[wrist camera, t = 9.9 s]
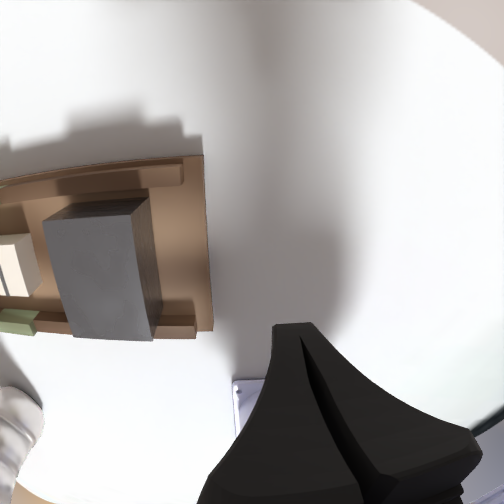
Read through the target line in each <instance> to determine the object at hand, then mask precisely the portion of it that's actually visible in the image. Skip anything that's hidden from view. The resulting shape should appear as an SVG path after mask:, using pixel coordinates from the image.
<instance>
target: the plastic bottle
mask: <svg viewBox="0 0 504 504" xmlns="http://www.w3.org/2000/svg"><path fill="white" fill-rule="evenodd" d="M44 424H45V421H44V416H43V412H42V410H41V408H40V407H39V406H38V404H37V403H36V402H35V401H34V400H33V399H32V398H31V397H29V396H28V395H27V394H26V393H24V392H23V391H21V390H19V389H17V388H15V387H11V386H7V387H3V388H0V503H3V504H10V503H11V498H12V492H13V489H14V486H15V483H16V478H17V477H18V474H19V471H20V468H21V467H22V465H23V463H24V461H25V459H26V457H27V456H28V454H29V452H30V450H31V448H33V447H34V445H35V444H36V443H37V441H38V440H39V438H40V437H41V435H42V433H43V428H44Z"/></svg>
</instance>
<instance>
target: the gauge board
mask: <svg viewBox="0 0 504 504" xmlns="http://www.w3.org/2000/svg"><path fill="white" fill-rule="evenodd" d="M138 197H149V199H150V210H151V219H152V228H153V237H154V245H155V253H156V260H157V268H158V274H159V281H160V288H161V294H162V300H163V306H164V307H163V310H162V313H161V316H160V319H159V322H158V326H157V329H156V332H155V335H154V338H153V339H196V334H197V331H213V325H214V320H213V309H212V296H211V283H210V270H209V255H208V239H207V222H206V203H205V182H204V156H203V155H192V156H176V157H162V158H149V159H138V160H128V161H119V162H110V163H101V164H93V165H86V166H79V167H72V168H65V169H59V170H53V171H47V172H41V173H35V174H30V175H24V176H19V177H14V178H9V179H5V180H0V235H12V234H25V233H30V234H31V239H32V243H33V247H34V252H35V256H36V260H37V264H38V267H39V271H40V275H41V278H42V282H43V283H42V284H41V285H40V286H39V287H38V288H37V289H36V290H35V291H34V292H33V293H32V294H31V295H30V296H29V297H24V296H5V295H0V332H5V333H12V334H20V335H28V336H34V335H35V334H36V332H37V331H38V332H48V333H59V334H70V335H73V334H72V331H71V329H70V326H69V323H68V320H67V317H66V314H65V311H64V308H63V304H62V301H61V298H60V295H59V291H58V288H57V284H56V281H55V277H54V273H53V269H52V265H51V261H50V257H49V253H48V249H47V244H46V240H45V235H44V230H43V225H42V221H43V220H45V219H47V218H48V217H50V216H51V215H53V214H54V213H56V212H58V211H59V210H61V209H63V208H64V207H66V206H68V205H69V204H71V203H78V202H88V201H99V200H111V199H124V198H138Z"/></svg>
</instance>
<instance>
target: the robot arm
mask: <svg viewBox="0 0 504 504" xmlns="http://www.w3.org/2000/svg"><path fill="white" fill-rule="evenodd" d="M232 390H233V403H234V416H235V429H236V440H235V441H234V443H233V444H232V446H231V447H230V449H229V450H228V451H227V453H226V454H225V456H224V457H223V458H222V459H221V461H220V462H219V463H218V464H217V466H216V467H215V468H214V469H213V470H212V472H211V473H210V474H209V475H208V478H207V480H206V482H205V485H204V487H203V489H202V491H201V494H200V496H199V499H198V501H197V504H463V502H462V500H461V498H460V495H462V494H463V493H464V490H463V488H462V486H461V482H462V481H463V480H464V479H465V478H466V477H467V476H468V475H469V474H470V473H471V472H472V470H474V469H475V467H476V466H477V465H478V463H479V462H480V460H481V458H482V455H483V453H482V450H481V448H480V447H479V445H478V443H477V441H476V440H475V438H474V436H473V435H472V433H471V432H470V430H469V429H467V428H464V427H461V426H458V425H455V424H452V423H449V422H446V421H443V420H440V419H438V418H435V417H433V416H431V415H428V414H426V413H424V412H422V411H420V410H418V409H416V408H414V407H412V406H410V405H408V404H406V403H404V402H403V401H401V400H399V399H397V398H396V397H394V396H392V395H391V394H389V393H388V392H386V391H385V390H383V389H382V388H381V387H379V386H378V385H376V384H375V383H373V382H372V381H371V380H369V379H368V378H367V377H366V376H364V375H363V374H362V373H361V372H360V371H359V370H357V369H356V368H355V367H354V366H353V365H352V364H351V363H350V362H349V361H348V360H347V359H346V358H344V357H343V356H342V355H341V354H340V353H339V352H338V351H337V350H336V349H335V348H334V346H333V345H332V344H331V343H330V342H329V341H328V340H327V339H326V338H325V337H324V336H323V335H322V333H321V332H320V331H319V330H318V329H317V328H316V327H315V326H314V325H313V324H312V323H311V322H307V323H291V324H276V325H274V326H273V327H272V349H271V360H270V364H269V368H268V371H267V375H266V378H265V379H261V380H238V381H235V382H233V384H232ZM238 390H240V391H238ZM0 504H3V503H0ZM469 504H504V484H503V485H501V486H499V487H498V488H496V489H494V490H492V491H491V492H489V493H487V494H485V495H484V496H482V497H480V498H478V499H476V500H474V501H473V502H471V503H469Z"/></svg>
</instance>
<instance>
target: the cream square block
mask: <svg viewBox="0 0 504 504" xmlns="http://www.w3.org/2000/svg"><path fill="white" fill-rule="evenodd" d="M42 283H43V282H42V278H41V275H40V271H39V267H38V264H37V260H36V256H35V252H34V247H33V243H32V239H31V234H30V233H25V234H12V235H0V295H5V296H24V297H29V296H30V295H31V294H32V293H33V292H34V291H35V290H36V289H37V288H38V287H39V286H40V285H41V284H42Z"/></svg>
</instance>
